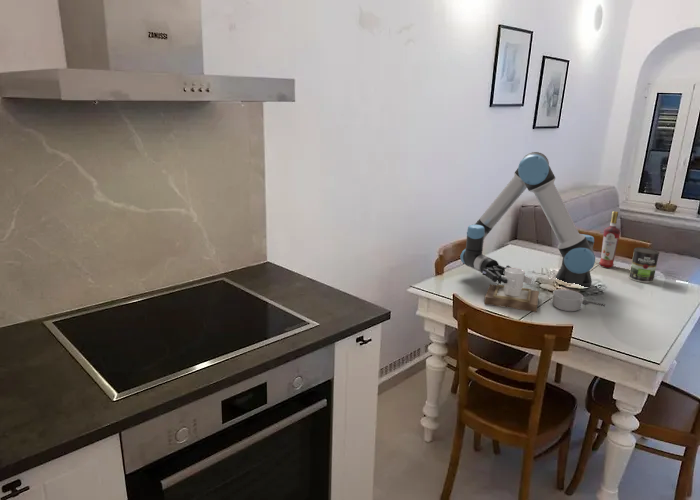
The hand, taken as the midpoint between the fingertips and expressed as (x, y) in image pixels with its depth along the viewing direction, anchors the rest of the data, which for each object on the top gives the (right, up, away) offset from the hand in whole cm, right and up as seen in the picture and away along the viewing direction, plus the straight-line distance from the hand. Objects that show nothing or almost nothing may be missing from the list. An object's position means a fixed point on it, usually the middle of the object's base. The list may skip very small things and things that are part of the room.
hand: (522, 282), depth 205 cm
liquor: (+60, +5, +53) cm, 80 cm away
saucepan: (+21, -11, -1) cm, 24 cm away
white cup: (-2, -5, +6) cm, 8 cm away
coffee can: (+68, -1, +35) cm, 76 cm away
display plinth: (-2, -8, +7) cm, 11 cm away
